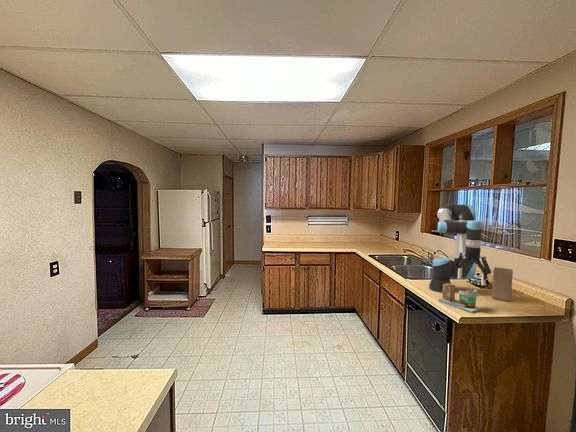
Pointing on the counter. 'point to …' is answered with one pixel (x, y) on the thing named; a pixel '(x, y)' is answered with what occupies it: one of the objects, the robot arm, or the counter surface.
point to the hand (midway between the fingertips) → (471, 281)
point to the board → (457, 305)
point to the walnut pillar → (448, 292)
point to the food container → (468, 298)
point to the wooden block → (502, 284)
